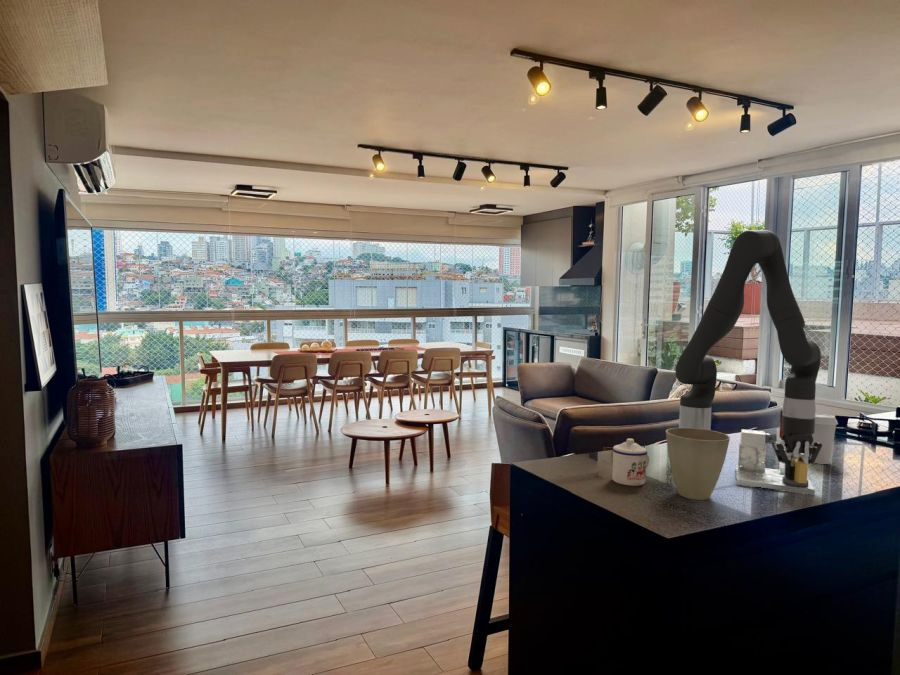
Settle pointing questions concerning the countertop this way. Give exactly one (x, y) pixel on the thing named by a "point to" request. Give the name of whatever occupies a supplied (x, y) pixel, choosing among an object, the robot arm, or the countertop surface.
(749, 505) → the countertop surface
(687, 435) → the plant pot
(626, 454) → the teacup with lid
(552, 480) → the countertop surface
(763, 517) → the countertop surface
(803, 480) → the white-tipped yellow pillar
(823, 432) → the white tapered bin
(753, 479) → the base
